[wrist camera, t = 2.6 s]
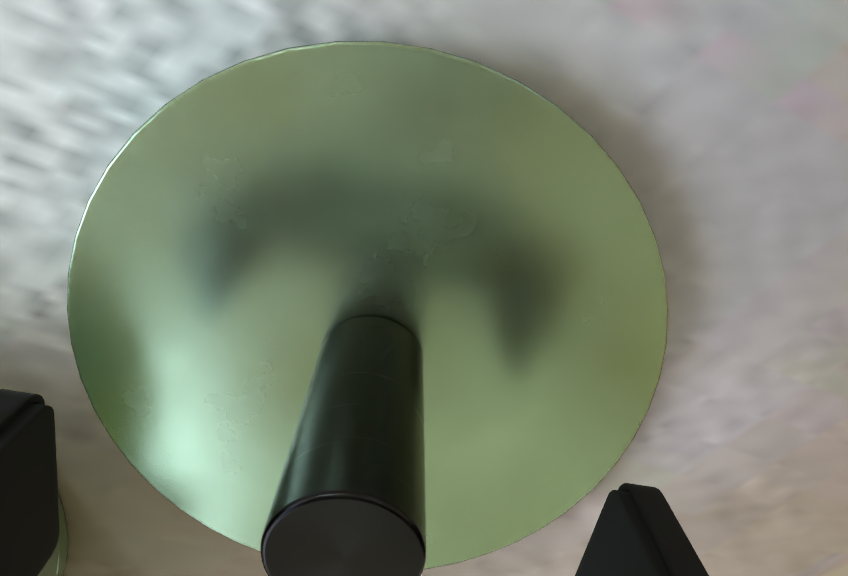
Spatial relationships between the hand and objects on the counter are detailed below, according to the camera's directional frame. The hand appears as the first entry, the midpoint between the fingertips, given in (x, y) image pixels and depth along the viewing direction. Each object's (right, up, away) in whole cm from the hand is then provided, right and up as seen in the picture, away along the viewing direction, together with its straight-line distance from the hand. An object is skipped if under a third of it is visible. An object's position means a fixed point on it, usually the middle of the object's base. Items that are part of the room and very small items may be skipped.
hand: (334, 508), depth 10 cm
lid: (0, +2, +4) cm, 5 cm away
